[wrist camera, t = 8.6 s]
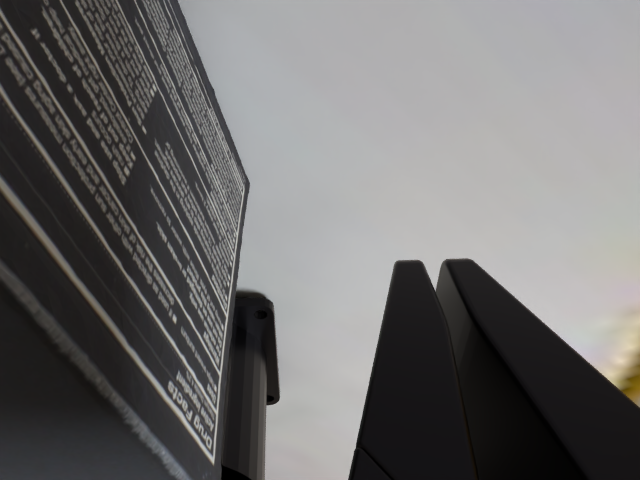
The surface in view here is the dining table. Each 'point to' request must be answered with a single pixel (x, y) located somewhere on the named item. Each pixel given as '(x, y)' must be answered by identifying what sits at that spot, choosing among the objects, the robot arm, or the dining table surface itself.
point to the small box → (113, 244)
